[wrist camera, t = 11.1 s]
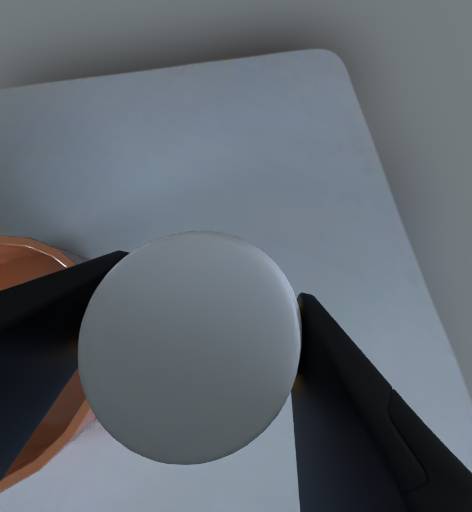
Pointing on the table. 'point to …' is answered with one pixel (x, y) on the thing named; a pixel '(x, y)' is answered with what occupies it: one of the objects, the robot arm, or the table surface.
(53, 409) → the pan
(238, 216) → the table surface
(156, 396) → the supplement bottle
